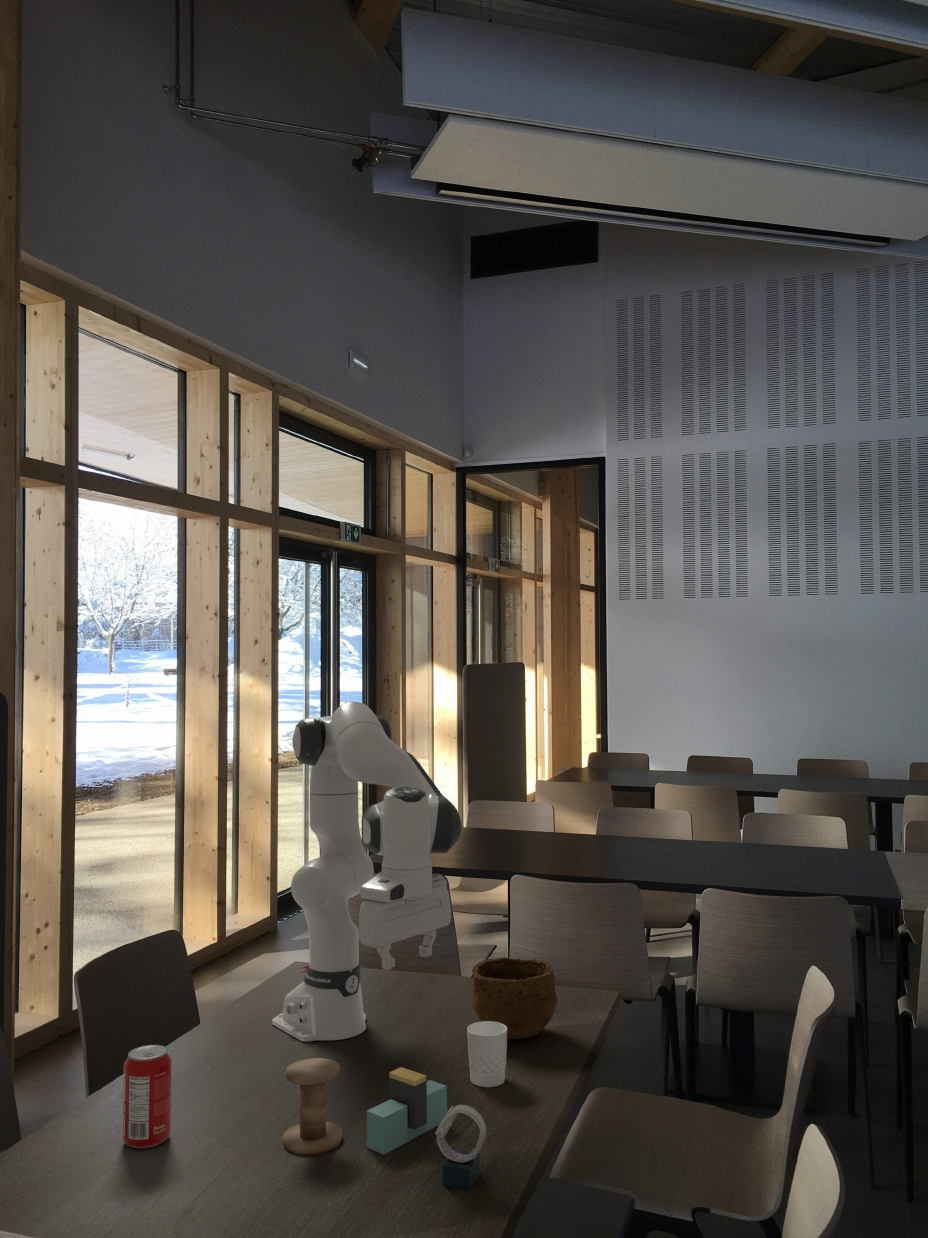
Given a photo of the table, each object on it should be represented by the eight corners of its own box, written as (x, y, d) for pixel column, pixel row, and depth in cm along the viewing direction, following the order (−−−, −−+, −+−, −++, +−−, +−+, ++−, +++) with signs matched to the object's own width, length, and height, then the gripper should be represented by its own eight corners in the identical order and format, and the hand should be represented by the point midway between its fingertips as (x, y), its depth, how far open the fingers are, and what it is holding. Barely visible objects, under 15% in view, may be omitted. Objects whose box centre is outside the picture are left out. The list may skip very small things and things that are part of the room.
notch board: (366, 1147, 163) (366, 1111, 163) (430, 1114, 175) (429, 1080, 176) (383, 1155, 161) (383, 1117, 161) (446, 1120, 173) (446, 1086, 173)
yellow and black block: (389, 1120, 169) (389, 1072, 169) (401, 1113, 171) (400, 1067, 172) (415, 1129, 165) (414, 1081, 166) (426, 1123, 167) (426, 1075, 168)
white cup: (504, 1090, 185) (503, 1037, 186) (463, 1087, 187) (463, 1034, 187) (510, 1074, 193) (510, 1022, 194) (471, 1071, 194) (471, 1020, 195)
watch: (442, 1167, 156) (442, 1097, 157) (490, 1175, 154) (490, 1103, 155) (430, 1184, 151) (430, 1112, 152) (480, 1192, 149) (479, 1118, 149)
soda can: (126, 1156, 161) (127, 1064, 162) (119, 1137, 168) (120, 1048, 169) (174, 1146, 164) (175, 1055, 165) (166, 1127, 171) (167, 1040, 172)
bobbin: (270, 1142, 165) (271, 1070, 166) (315, 1121, 173) (315, 1052, 174) (310, 1161, 159) (310, 1085, 159) (354, 1138, 166) (354, 1066, 167)
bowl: (458, 1028, 218) (457, 961, 219) (532, 1016, 225) (531, 951, 226) (493, 1058, 201) (492, 985, 202) (572, 1044, 208) (571, 973, 209)
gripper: (432, 870, 181) (433, 946, 180) (352, 889, 165) (352, 972, 164) (458, 874, 176) (459, 952, 176) (379, 894, 161) (379, 979, 160)
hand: (407, 962), depth 170 cm, fingers open, 8 cm apart
